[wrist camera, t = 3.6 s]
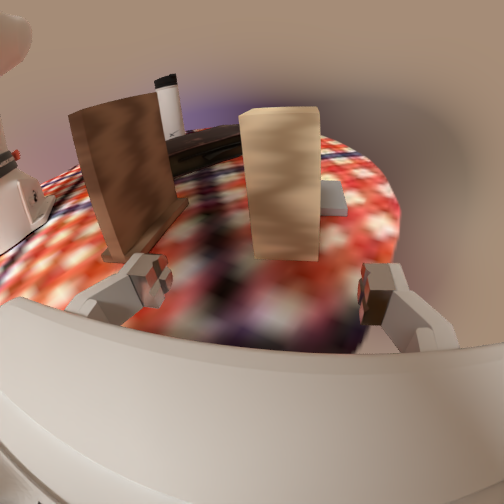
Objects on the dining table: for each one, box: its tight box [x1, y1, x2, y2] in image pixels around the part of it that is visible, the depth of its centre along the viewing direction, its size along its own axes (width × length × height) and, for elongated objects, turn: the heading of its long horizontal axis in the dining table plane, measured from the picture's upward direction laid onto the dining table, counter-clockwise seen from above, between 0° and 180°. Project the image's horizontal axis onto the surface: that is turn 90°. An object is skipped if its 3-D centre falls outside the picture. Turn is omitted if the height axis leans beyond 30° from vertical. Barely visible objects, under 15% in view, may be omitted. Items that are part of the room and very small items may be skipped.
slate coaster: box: [320, 180, 348, 216], centre depth 30 cm, size 8×8×1 cm
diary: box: [165, 124, 243, 179], centre depth 51 cm, size 19×25×5 cm
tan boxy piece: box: [239, 107, 321, 261], centre depth 20 cm, size 5×5×11 cm
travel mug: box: [154, 74, 185, 141], centre depth 65 cm, size 6×7×20 cm
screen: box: [68, 92, 189, 263], centre depth 24 cm, size 12×4×14 cm, turn 169°
